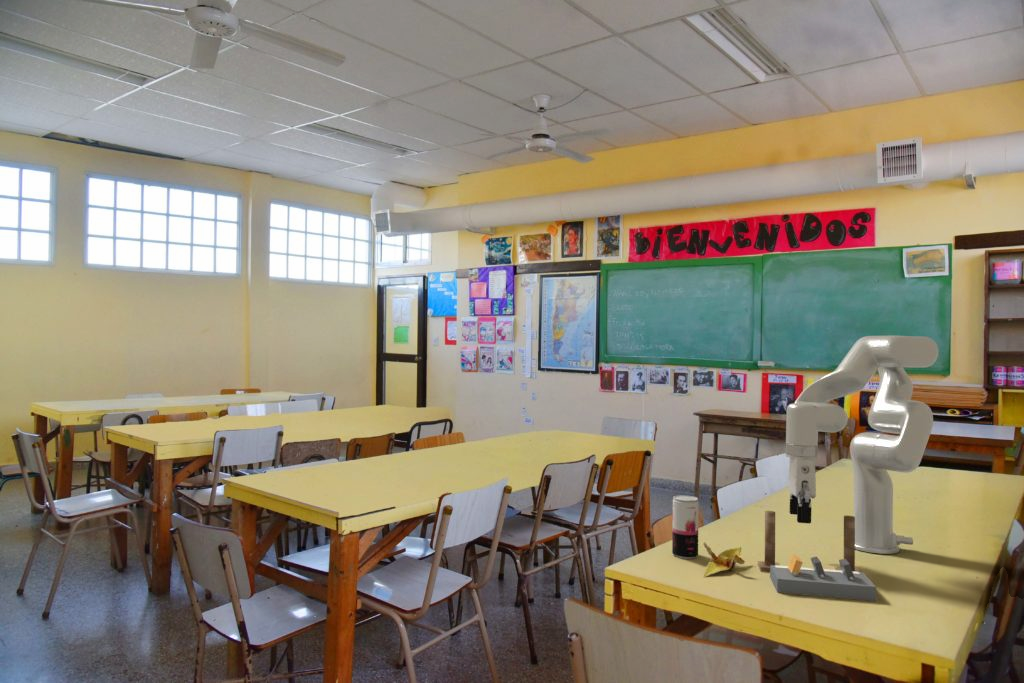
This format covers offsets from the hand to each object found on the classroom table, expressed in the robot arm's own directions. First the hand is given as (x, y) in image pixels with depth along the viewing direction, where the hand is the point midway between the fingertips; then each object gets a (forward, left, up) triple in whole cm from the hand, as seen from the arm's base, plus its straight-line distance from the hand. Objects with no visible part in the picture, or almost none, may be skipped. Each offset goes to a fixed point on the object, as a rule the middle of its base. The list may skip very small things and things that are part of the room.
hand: (799, 518), depth 170 cm
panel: (0, +21, -11) cm, 23 cm away
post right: (-9, +9, -11) cm, 17 cm away
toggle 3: (-6, +21, -8) cm, 23 cm away
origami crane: (+20, +12, -11) cm, 26 cm away
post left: (+9, +9, -11) cm, 16 cm away
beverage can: (+29, +3, -11) cm, 31 cm away
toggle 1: (+6, +21, -8) cm, 23 cm away
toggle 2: (0, +21, -8) cm, 22 cm away
